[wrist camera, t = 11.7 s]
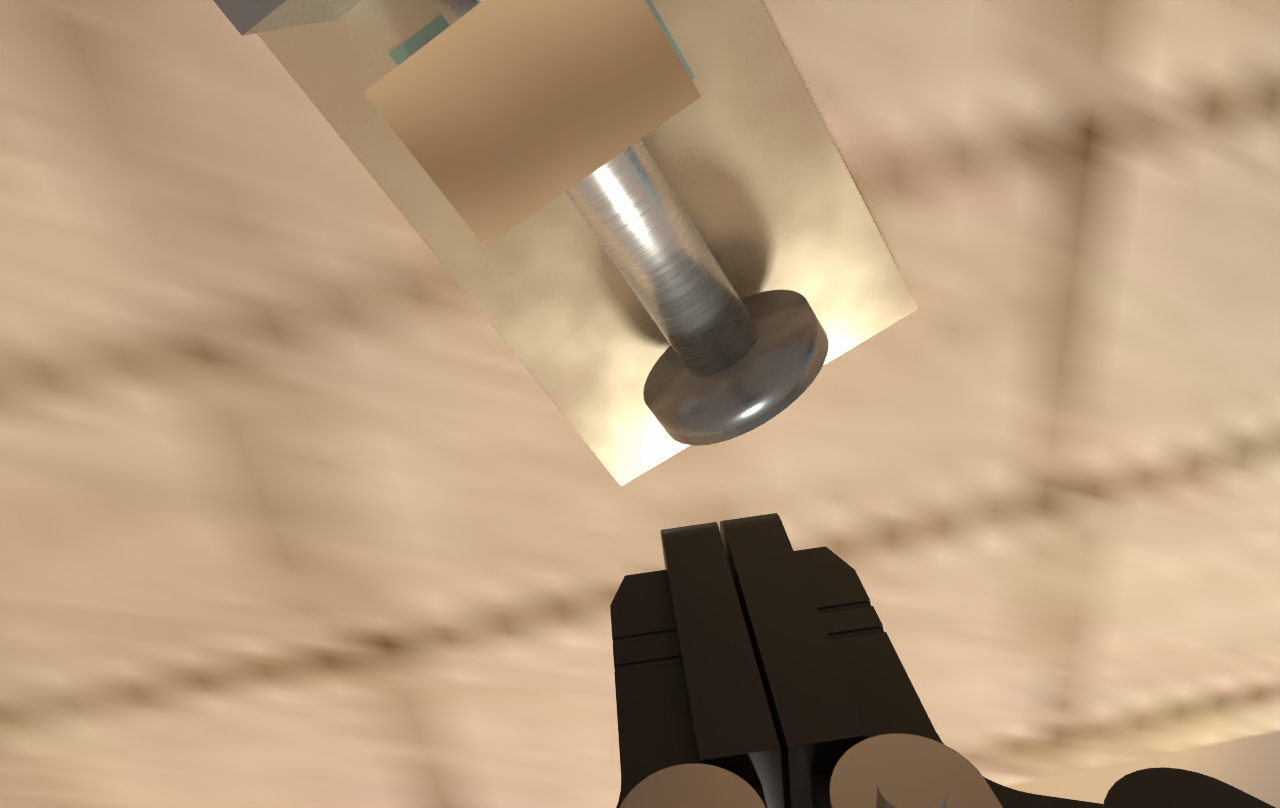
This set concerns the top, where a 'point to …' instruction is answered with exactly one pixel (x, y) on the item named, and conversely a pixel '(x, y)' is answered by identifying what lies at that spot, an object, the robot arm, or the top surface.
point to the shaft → (694, 305)
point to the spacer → (531, 101)
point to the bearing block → (562, 241)
